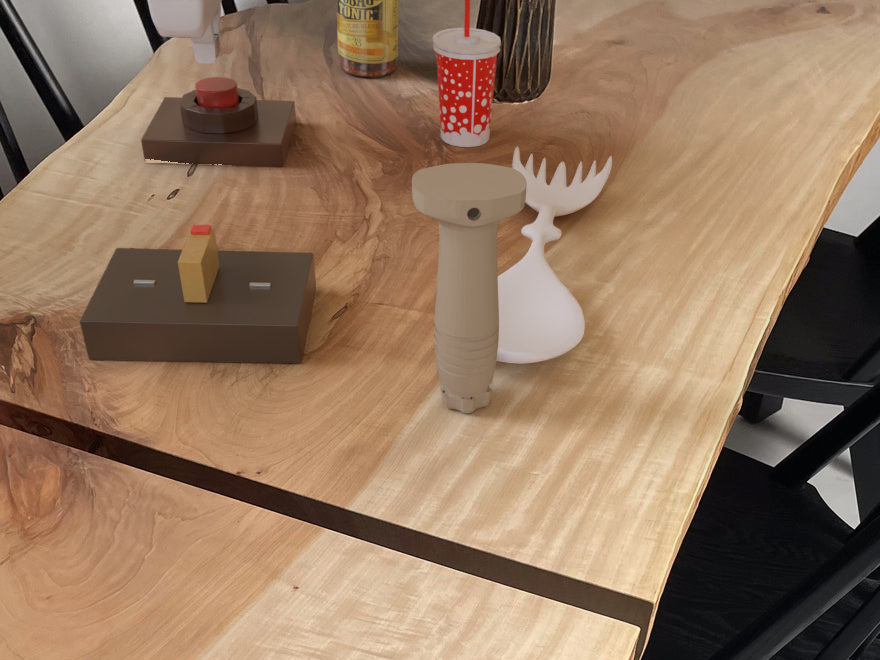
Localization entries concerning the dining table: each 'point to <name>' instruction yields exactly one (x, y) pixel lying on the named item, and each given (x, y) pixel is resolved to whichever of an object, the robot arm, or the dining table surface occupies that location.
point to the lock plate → (201, 309)
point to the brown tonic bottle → (367, 36)
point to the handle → (467, 271)
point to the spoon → (543, 270)
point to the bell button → (217, 92)
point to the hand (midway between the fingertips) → (208, 58)
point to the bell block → (221, 132)
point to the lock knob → (198, 264)
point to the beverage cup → (466, 82)
